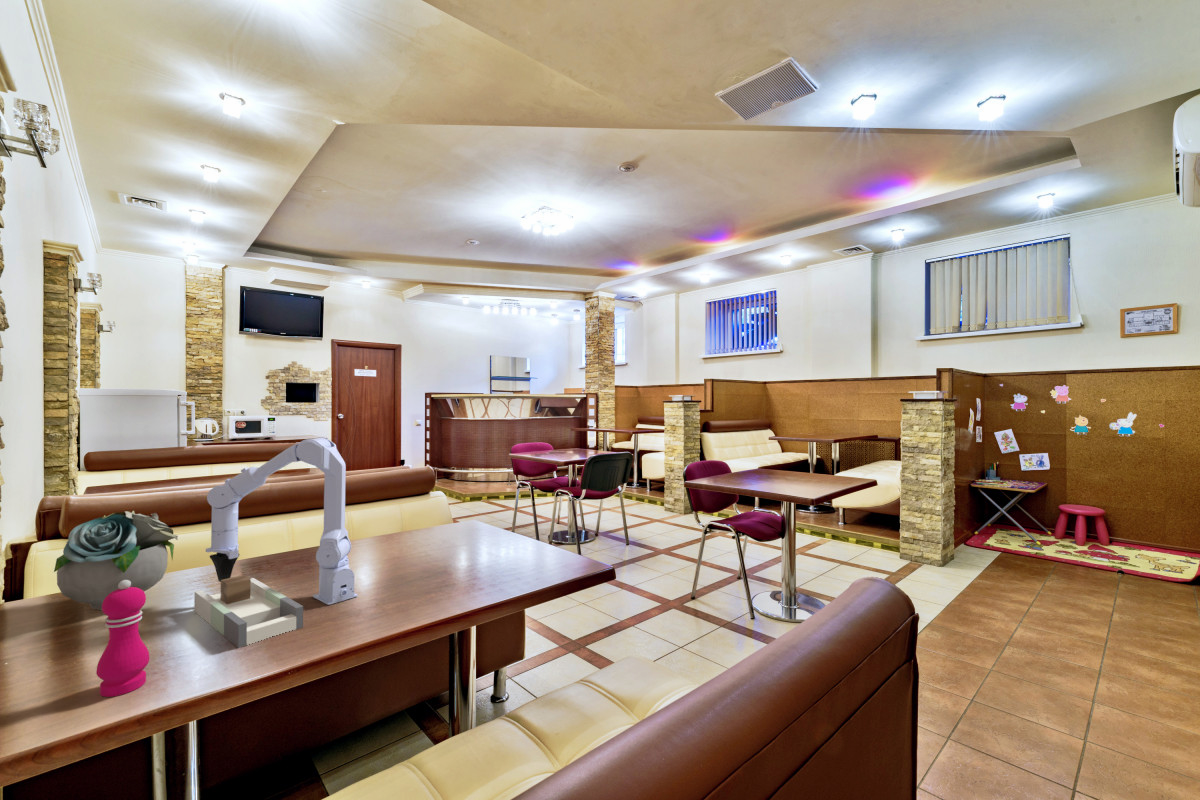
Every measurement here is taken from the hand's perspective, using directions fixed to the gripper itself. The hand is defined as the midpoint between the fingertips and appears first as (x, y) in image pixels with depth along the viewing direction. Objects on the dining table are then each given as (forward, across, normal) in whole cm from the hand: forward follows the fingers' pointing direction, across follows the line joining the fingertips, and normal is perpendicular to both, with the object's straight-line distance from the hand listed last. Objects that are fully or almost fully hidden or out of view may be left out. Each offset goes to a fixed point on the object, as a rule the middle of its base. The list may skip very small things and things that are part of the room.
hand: (224, 580), depth 134 cm
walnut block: (+3, +9, 0) cm, 9 cm away
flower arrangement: (+6, -21, -18) cm, 29 cm away
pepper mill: (+6, +34, -25) cm, 42 cm away
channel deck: (+6, +17, 0) cm, 18 cm away
